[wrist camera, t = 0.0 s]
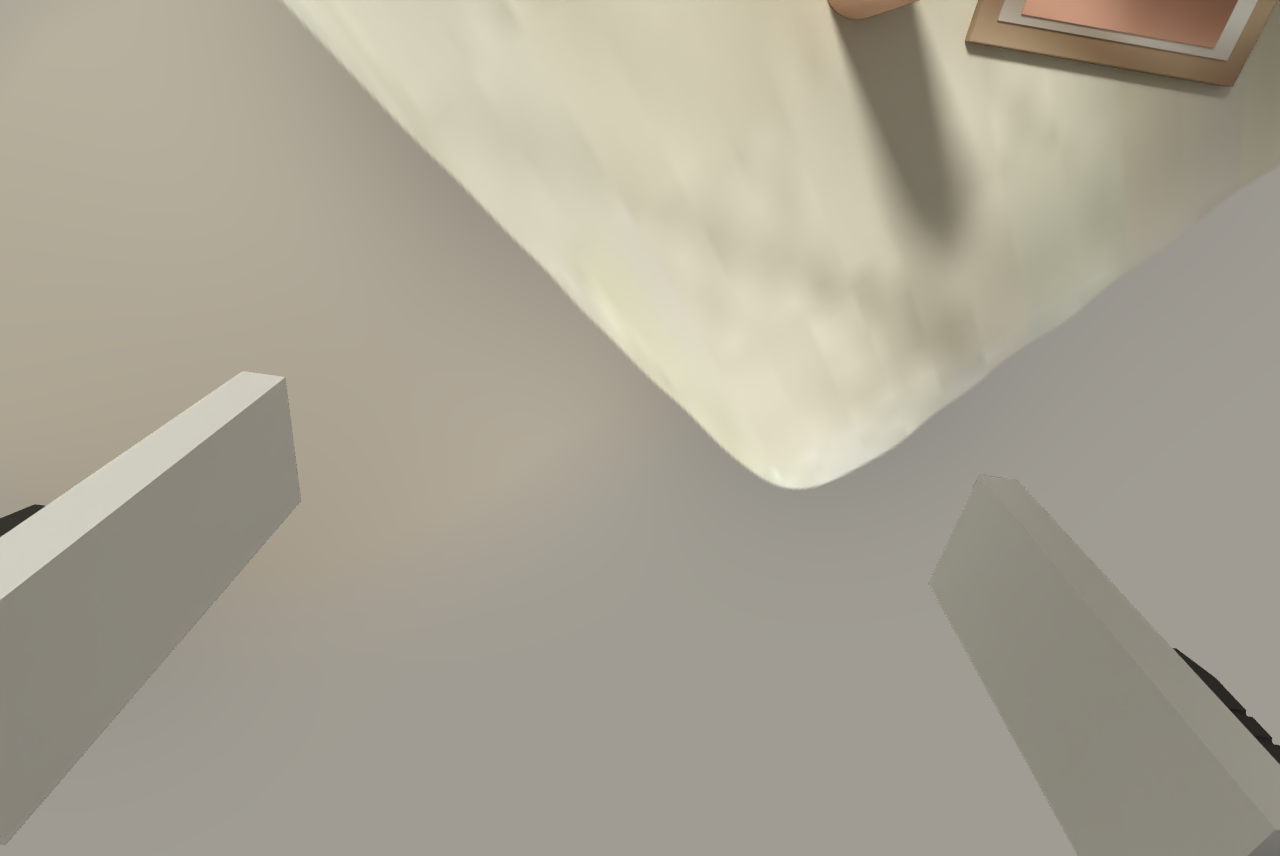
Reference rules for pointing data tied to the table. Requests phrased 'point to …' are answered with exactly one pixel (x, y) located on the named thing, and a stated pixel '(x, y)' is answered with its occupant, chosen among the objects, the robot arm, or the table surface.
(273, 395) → the robot arm
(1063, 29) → the colouring board
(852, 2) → the terracotta marker
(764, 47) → the table surface
